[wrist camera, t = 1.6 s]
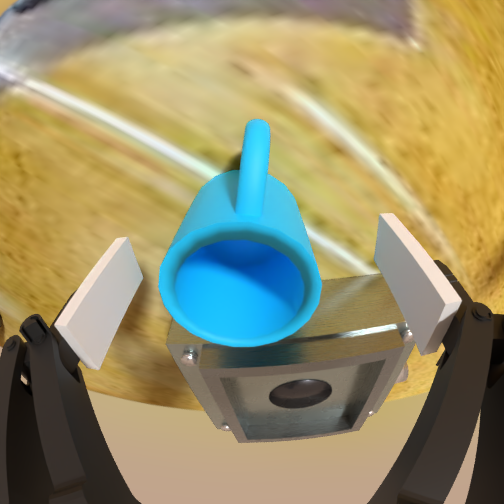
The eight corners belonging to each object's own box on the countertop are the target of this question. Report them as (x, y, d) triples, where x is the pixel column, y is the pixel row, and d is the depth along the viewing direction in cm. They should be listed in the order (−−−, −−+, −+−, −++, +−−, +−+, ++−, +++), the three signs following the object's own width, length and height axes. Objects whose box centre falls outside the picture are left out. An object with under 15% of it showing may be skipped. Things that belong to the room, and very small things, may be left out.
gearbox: (220, 390, 33) (216, 442, 27) (181, 292, 24) (159, 365, 17) (386, 371, 32) (401, 420, 25) (425, 267, 22) (465, 327, 15)
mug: (288, 271, 23) (300, 351, 16) (190, 261, 22) (165, 338, 15) (319, 124, 16) (365, 147, 9) (195, 109, 16) (151, 121, 9)
